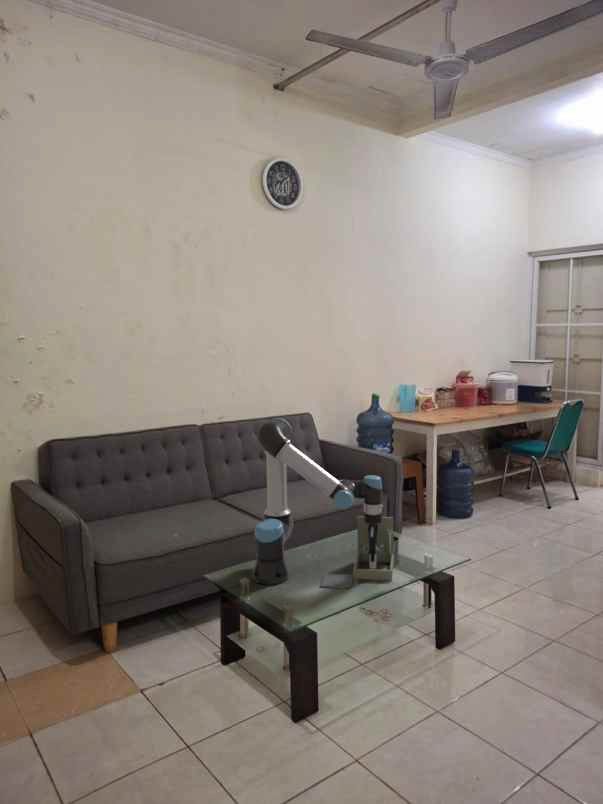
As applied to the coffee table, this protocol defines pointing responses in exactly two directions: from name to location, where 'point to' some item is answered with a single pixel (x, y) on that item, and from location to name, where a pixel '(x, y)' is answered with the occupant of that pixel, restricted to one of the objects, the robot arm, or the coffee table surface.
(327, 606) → the coffee table surface
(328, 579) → the mat
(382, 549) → the mechanical component
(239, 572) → the coffee table surface
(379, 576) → the case
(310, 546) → the coffee table surface
